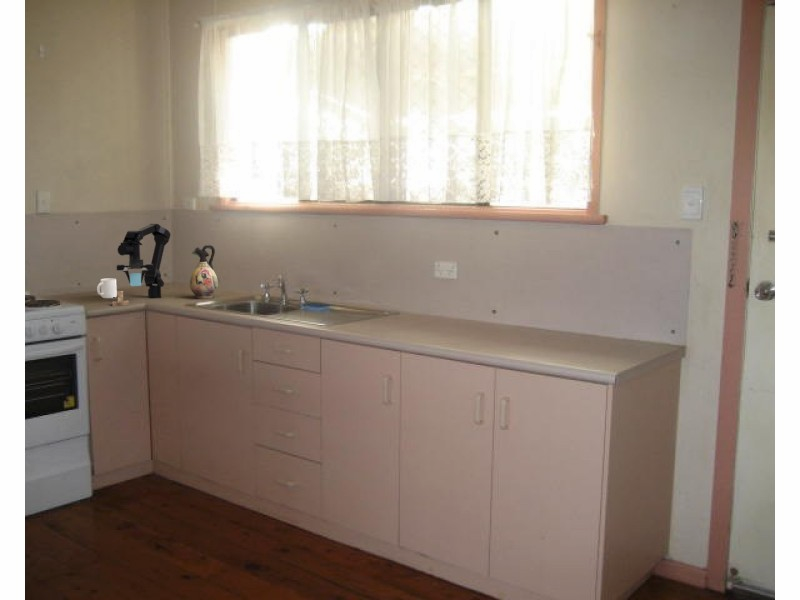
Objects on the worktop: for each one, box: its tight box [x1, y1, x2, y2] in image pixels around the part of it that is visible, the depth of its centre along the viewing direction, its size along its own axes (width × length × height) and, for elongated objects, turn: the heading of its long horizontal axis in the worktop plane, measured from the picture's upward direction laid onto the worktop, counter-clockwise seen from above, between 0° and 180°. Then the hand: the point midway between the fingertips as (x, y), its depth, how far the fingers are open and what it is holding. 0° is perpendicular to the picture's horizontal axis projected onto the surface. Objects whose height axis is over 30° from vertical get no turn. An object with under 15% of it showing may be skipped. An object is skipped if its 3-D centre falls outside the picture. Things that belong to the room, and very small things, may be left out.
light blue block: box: [129, 272, 142, 287], centre depth 432 cm, size 6×6×7 cm
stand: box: [112, 290, 130, 307], centre depth 421 cm, size 8×8×7 cm
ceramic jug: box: [189, 244, 219, 300], centre depth 446 cm, size 17×15×30 cm
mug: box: [96, 277, 118, 299], centre depth 446 cm, size 12×8×10 cm
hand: (135, 282), depth 432 cm, fingers closed on light blue block, 6 cm apart
